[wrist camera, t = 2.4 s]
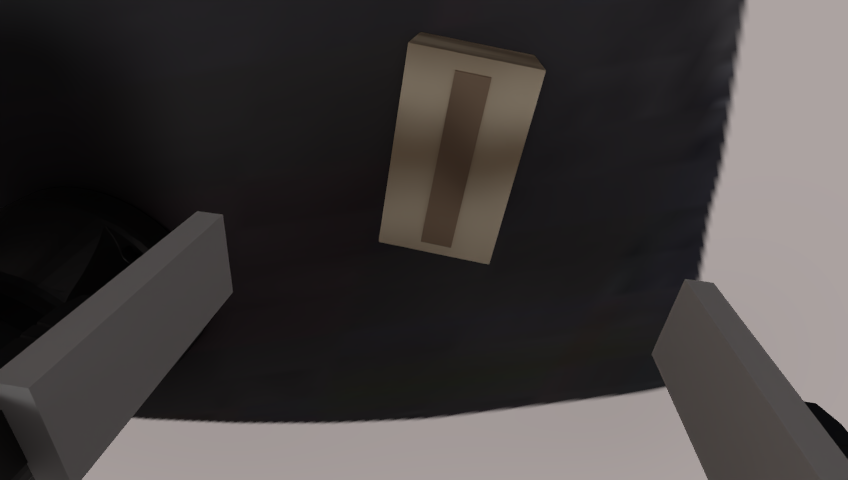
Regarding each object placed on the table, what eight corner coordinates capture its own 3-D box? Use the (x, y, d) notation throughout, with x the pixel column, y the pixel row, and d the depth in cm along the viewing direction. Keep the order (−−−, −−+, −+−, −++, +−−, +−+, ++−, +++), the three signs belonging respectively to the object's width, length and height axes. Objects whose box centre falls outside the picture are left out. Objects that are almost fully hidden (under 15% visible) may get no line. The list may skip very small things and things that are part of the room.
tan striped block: (487, 222, 29) (489, 267, 25) (393, 203, 29) (377, 244, 25) (534, 54, 24) (547, 71, 20) (420, 31, 24) (407, 43, 20)
